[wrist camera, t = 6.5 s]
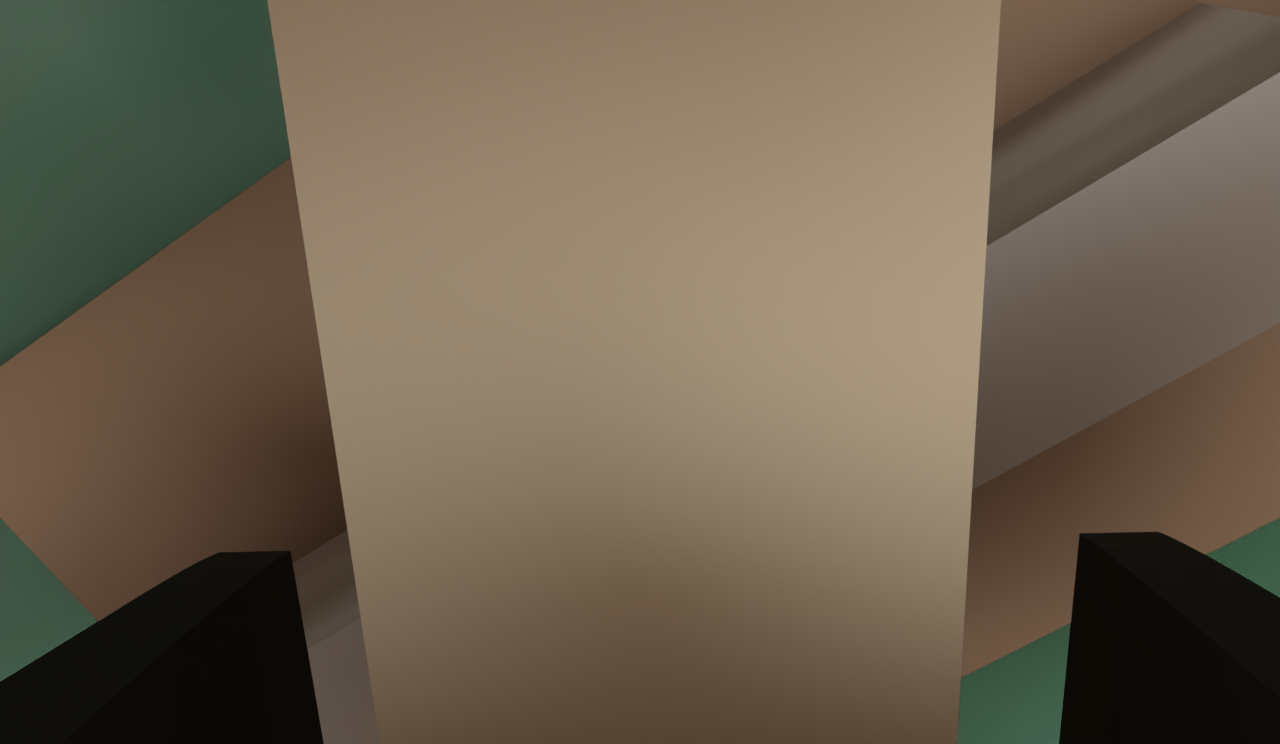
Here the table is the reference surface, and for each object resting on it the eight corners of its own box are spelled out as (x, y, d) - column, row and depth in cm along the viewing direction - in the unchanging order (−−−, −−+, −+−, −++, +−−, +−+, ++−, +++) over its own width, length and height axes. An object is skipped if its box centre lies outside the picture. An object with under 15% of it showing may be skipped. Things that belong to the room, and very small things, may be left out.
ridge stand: (-39, 397, 16) (-267, 549, 12) (1084, -412, 12) (1264, -556, 8) (426, 900, 18) (359, 1153, 15) (1451, 373, 15) (1710, 530, 11)
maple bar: (828, 1239, 15) (891, 1843, 10) (589, 1237, 15) (543, 1830, 10) (858, -834, 8) (1115, -1954, 3) (402, -797, 8) (-7, -1807, 3)
